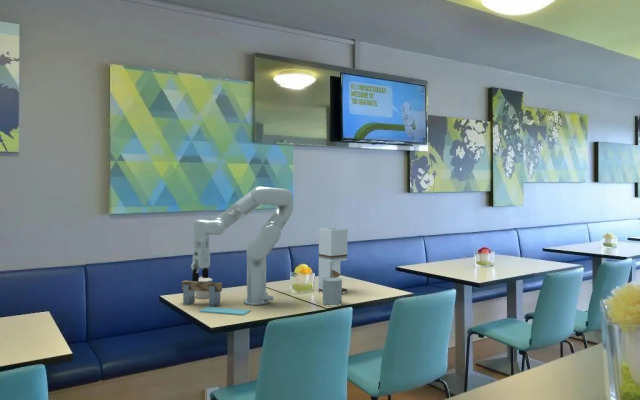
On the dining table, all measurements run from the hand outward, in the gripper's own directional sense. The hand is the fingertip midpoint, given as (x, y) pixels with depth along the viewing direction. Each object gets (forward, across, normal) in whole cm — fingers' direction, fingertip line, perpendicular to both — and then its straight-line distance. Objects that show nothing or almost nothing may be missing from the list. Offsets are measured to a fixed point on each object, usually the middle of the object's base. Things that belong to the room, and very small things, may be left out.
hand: (200, 279), depth 247 cm
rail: (+5, 0, -1) cm, 5 cm away
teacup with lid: (+12, +17, +7) cm, 22 cm away
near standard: (+12, 0, -8) cm, 15 cm away
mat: (+12, -9, -18) cm, 23 cm away
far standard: (+12, 0, +6) cm, 14 cm away
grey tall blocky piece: (+10, +46, -56) cm, 73 cm away
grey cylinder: (+11, +20, -62) cm, 66 cm away
